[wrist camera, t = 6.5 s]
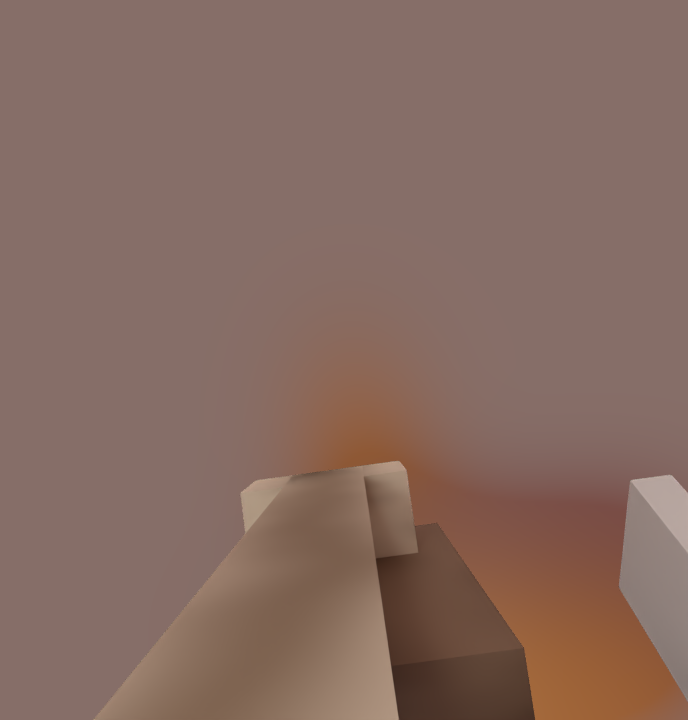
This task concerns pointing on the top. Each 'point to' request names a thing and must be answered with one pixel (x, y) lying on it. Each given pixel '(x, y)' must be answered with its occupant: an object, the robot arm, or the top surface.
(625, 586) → the robot arm
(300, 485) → the birch bar
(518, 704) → the walnut stand
